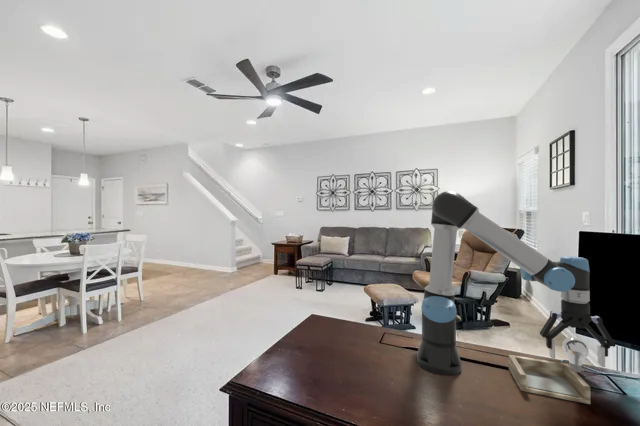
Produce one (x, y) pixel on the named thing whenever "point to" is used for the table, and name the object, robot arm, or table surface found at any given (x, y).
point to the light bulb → (575, 352)
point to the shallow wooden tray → (548, 379)
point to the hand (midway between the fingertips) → (576, 361)
